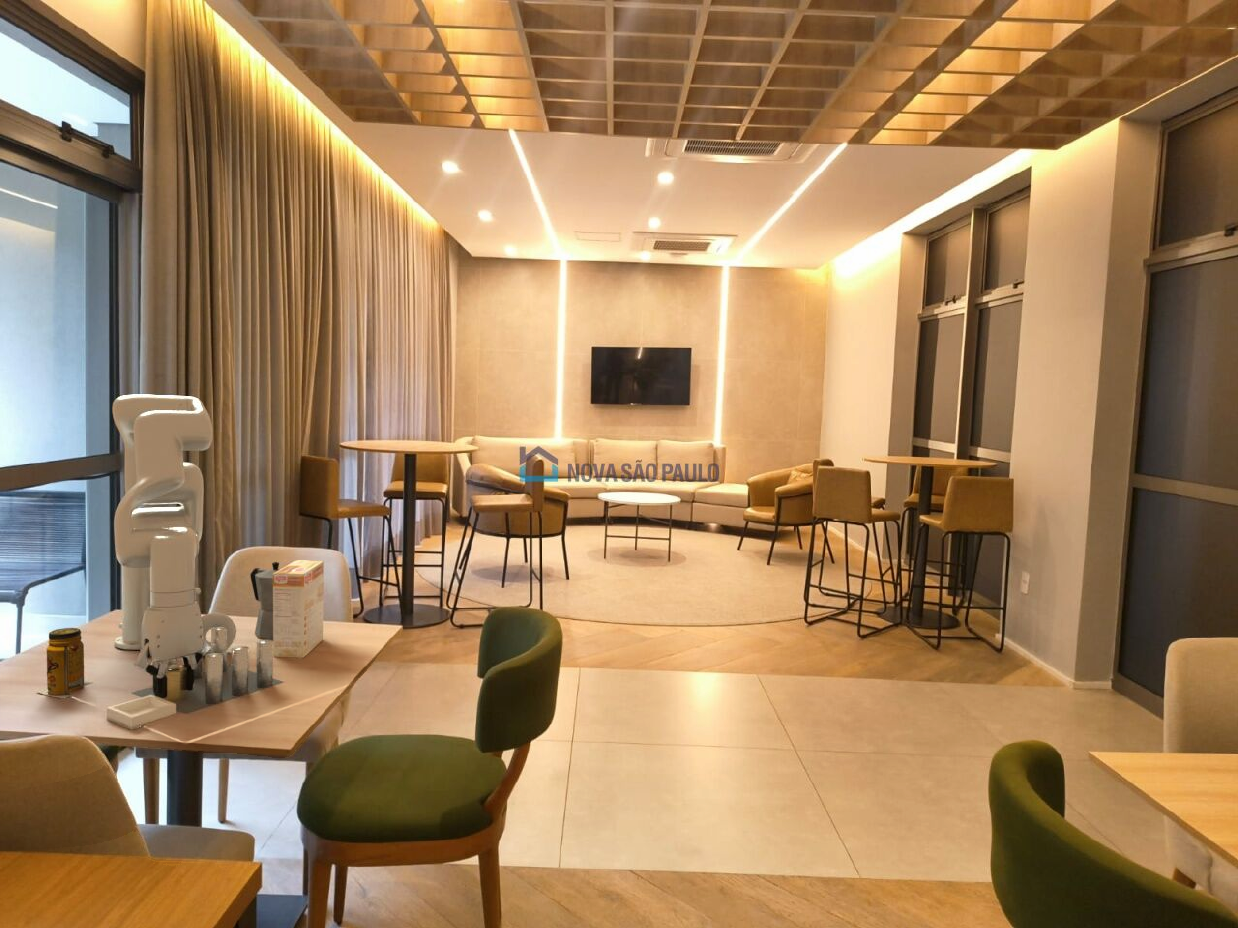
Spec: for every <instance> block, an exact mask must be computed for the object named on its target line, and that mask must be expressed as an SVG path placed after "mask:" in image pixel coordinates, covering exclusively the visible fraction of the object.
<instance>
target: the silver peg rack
mask: <svg viewBox="0 0 1238 928" xmlns="http://www.w3.org/2000/svg"><path fill="white" fill-rule="evenodd" d="M210 642H211V654H208V655H206V656H203V657H205V658H204V659H205V660H204V661H205V662H204V663H205V664H204V665H205V666H204V665H203V657H202V658H201V660H200V661H199V662H198V664H197V667H196V669H194V680H197V679H200V678H202V677H203V672H205V703H206V704H215V705H218V703H219V704H222V703H223V702H222V701H223V672H225V671H226V670H227V665H228V650H227V628H226V627H216V628H211V629H210ZM249 651H250V650H249V647H248V646H247V645H246V646H245V645H240V646H238V645H237V646H235V647H232V648H231V665H232V695H234V696H240V697H242V696H241V695H243V696H245V694H246V695H249V694H248V676H249V671H250V669H249V667H250V666H249V658H250V657H249ZM273 658H274V656H273V639H260V640H258V641H256V673H257V687H259V688H265V689H267V688H266V687H268V688H271V687H273V686H272V685H273V679H274V676H273V675H274V673H273V672H274V670H273V668H274V667H273V666H274V665H273V664H274V662H273V661H274V659H273ZM177 659H178V658H177ZM177 659H172V660H168V661H167V663H166V666H172V665H178V664H177V663H178V662H177ZM203 666H204V667H205V668H204V669H203ZM203 670H204V671H203ZM270 686H271V687H270ZM221 702H222V703H221Z"/></svg>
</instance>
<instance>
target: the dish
mask: <svg viewBox="0 0 1238 928" xmlns="http://www.w3.org/2000/svg"><path fill="white" fill-rule="evenodd" d="M176 714H177V710H176V704H175V703H172V702H169V701H167V700H164V699H161V698H159V697H156V696H153V695H148V696H145V697H139V698H135V699H131V700H129V701H125V702H121V703H118V704H114V705H111V706H107V707H106V720H108V721H109V722H111V723H114V724H116V725H119V726H121V725H122V727H123V726H124V728H126V729H128V728H129V729H128V730H132V731H133V730H136V729H139V728H141V727H140V726H143V727H145V726H144V725H146V724H149V723H151V722H155V721H158V720H160V719H164V718H167V717H170V716H174V715H176ZM138 727H139V728H138ZM135 728H136V729H135Z"/></svg>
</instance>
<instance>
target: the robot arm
mask: <svg viewBox="0 0 1238 928" xmlns="http://www.w3.org/2000/svg"><path fill="white" fill-rule="evenodd" d="M112 415H113V417H112V418H113V420H114V423H115V426H116V428H117V430H118V432H119V434H120V436H121V439H122V441H123V444H124V447H123V448H124V491H125V492H124V493H125V494H124V496H122V498H121V500H120V502H119V503H118V506H117V507H116V510H115V513H114V521H113V526H114V528H113V529H114V530H113V531H114V545H115V554H116V555H115V556H116V559H117V561H118V563H119V564H120V565H121V622H119V623H118V628H119V629H121V630H122V631H121V632H122V633H121V634H122V635H119V636H118V637H117V638H115V639H114V646H115V647H116V648H118V649H122V650H127V651H128V650H129V651H133V650H134V651H135V650H136V651H137V650H139V653H138V654H139V655H138V656H137V658H136V659H135V661H134V663H133V666H135V667H136V668H139V669H141V670H143V671H144V672H146V673H148V674H149V675H150V677H151V676H152V687H153V692H154V695H155V696H157V697H160V698H166V697H167V677H164V673H165V668H166V663H167V661H168V660H172V659H181V662H182V666H184V667H187V690H188V691H191V690H193V684H194V669H196V667H197V664H198V662H199V661H200V660H201V658H202V657H204V656H203V655H205V654H206V653H207V652H208V651H209V649H210V645H209V644H208V643H207V642H206V641H205V639H204V638H203V625H202V617H203V616H202V612H201V608H200V605H199V602H198V601H196V600H197V596H198V595H201V594H202V593H201V592H202V590H201V588H200V587H196V557H197V555H199V552H200V541H201V539H202V535H203V525H204V493H205V492H204V484H205V483H204V476H203V473H202V470H201V469H200V467H199V466H198V465H196V464H194V463H192V462H184V457H183V451H184V452H186V451H187V452H189V451H191V452H192V451H193V452H195V451H196V452H197V451H199V452H200V451H205V450H208V449H209V448H210V447H211V445H212V442H213V437H214V436H213V435H214V434H213V425H212V421H211V417H210V415H209V412H208V411H207V409H206V407H205V405H204V402H202V400H201V399H199V398H197V397H194V396H185V395H159V394H157V395H156V394H127V395H121V396H118V397H117V398H116V399H115V400H114V401H113V403H112ZM167 504H168V505H170V504H171V505H173V504H179V505H180V506H170V507H168V506H167V507H166V506H165V507H159V506H158V507H142V508H141V507H140V506H142V505H167ZM139 507H140V508H139ZM149 659H151V662H150V663H148V660H149Z"/></svg>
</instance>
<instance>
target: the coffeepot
mask: <svg viewBox="0 0 1238 928" xmlns="http://www.w3.org/2000/svg"><path fill="white" fill-rule="evenodd" d="M271 565H272V569H268V570H267V569H265V568H259V567H255V568H253V570H252V571H251V572H250V575H249V577H250V581H251V585H252V589H253V594H254V598H255V600H256V601H258V602H260V608H259V609H258V615H257V619H256V620H257V621H256V626H255V631H254V635H255V636H256V637H257V638H258V637H259V639H262V638H263V639H262V640H273V573H275V572H277V571H279V570H280V569H281V568H279V567H280V562H277V561H275V562H272V563H271Z"/></svg>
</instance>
